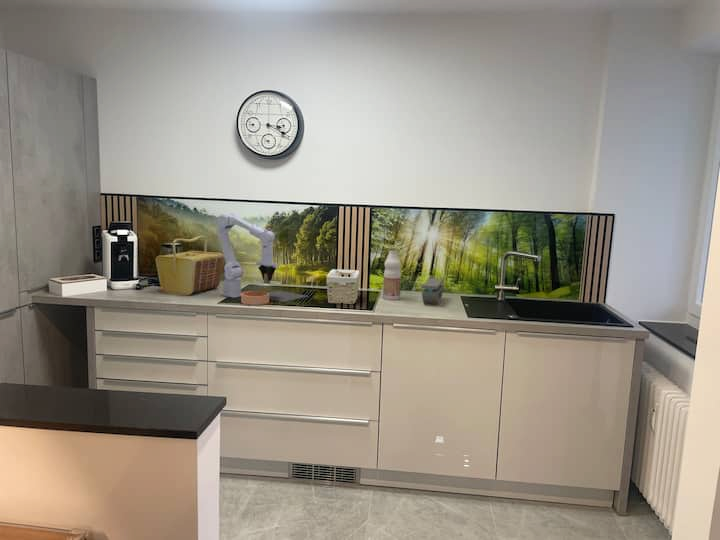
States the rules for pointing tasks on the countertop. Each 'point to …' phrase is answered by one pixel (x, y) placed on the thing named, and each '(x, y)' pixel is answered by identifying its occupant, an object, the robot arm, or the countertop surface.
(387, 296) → the fruit juice
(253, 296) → the bowl
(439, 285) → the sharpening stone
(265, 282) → the lid
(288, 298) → the rubber mat
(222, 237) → the robot arm
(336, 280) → the storage basket
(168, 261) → the picnic basket
